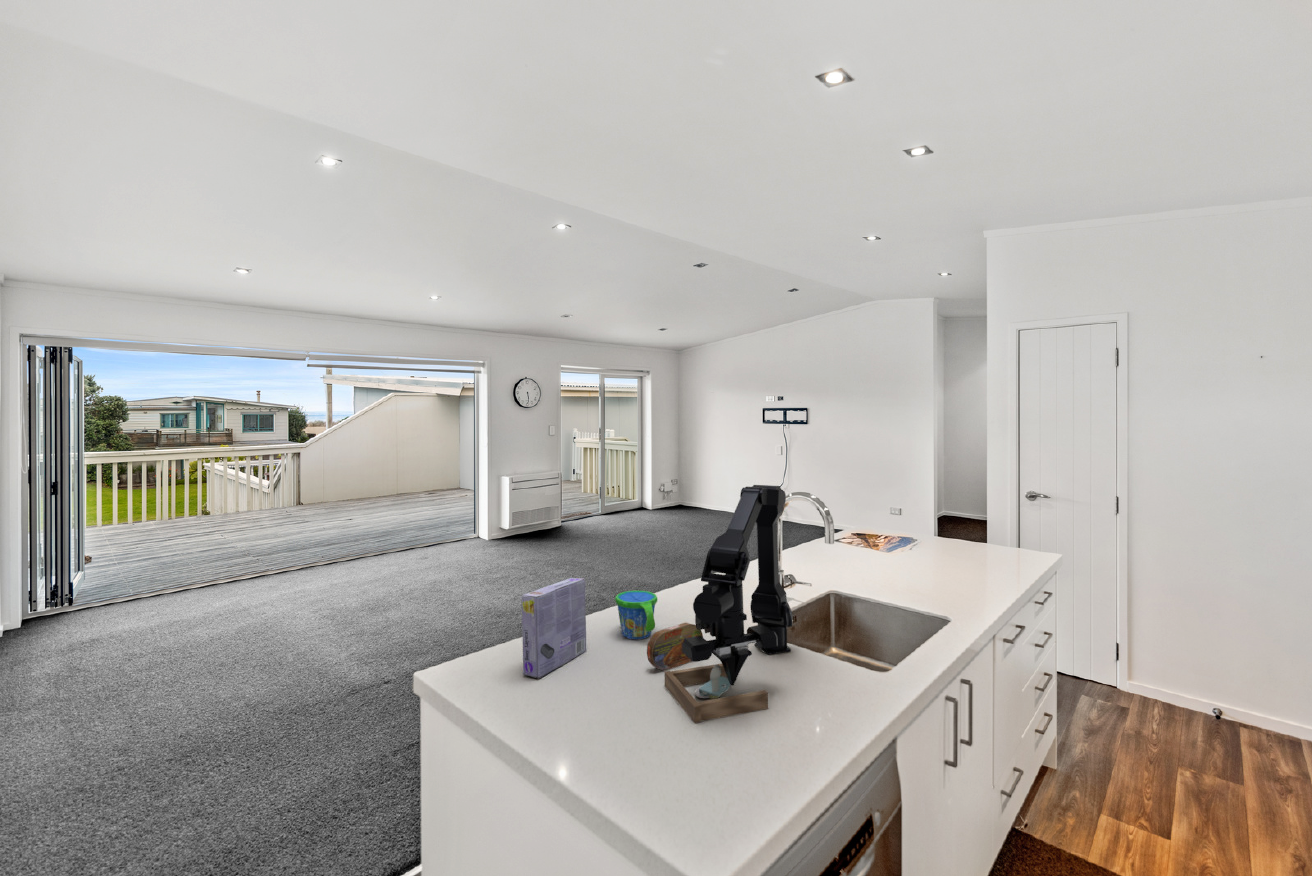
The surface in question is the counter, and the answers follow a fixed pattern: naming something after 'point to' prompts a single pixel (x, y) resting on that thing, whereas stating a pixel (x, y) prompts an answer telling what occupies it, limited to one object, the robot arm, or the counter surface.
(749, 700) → the walnut bay
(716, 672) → the pacifier
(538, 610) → the cake pan box
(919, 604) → the counter surface
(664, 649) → the tin
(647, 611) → the snack cup
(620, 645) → the counter surface
